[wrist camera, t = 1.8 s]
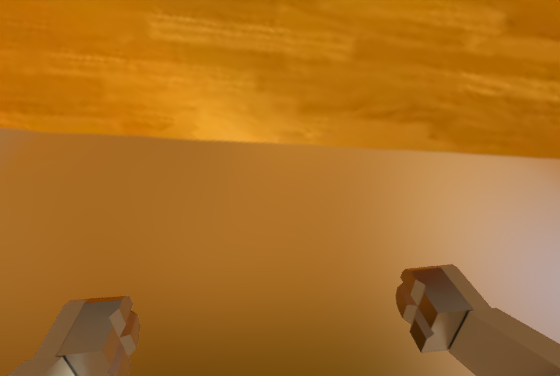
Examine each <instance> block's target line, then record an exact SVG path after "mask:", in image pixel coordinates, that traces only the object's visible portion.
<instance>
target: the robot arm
mask: <svg viewBox="0 0 560 376" xmlns="http://www.w3.org/2000/svg"><path fill="white" fill-rule="evenodd" d="M401 279H402V281H403V283H402V284H401V285H400V286H399V287H398V288H397V292H396V303H397V306H398V310H399V312H400V314H401V316H402V318H403V319H405V320H406V321H407V322H409V323H410V324H411V327H410V333H411V335H412V337H413V339H414V340H415V342H416V344H417V346H418V348H419V350H420V352H421V353H425V352H435V351H445V350H446V351H447V350H449V353H450V354H452V355H453V356H454V357H455V358H456V359H457V360H459V361H460V362H461V363H462V364H463V365H464V366H465V367H467V368H468V369H469V370H470V371H471V372H472V373H474V374H475V375H476V376H560V344H559V343H557V342H555V341H553V340H552V339H550V338H548V337H546V336H545V335H543V334H541V333H539V332H538V331H536V330H534V329H532V328H531V327H529V326H527V325H525V324H524V323H522V322H520V321H518V320H517V319H515V318H513V317H511V316H510V315H508V314H506V313H504V312H503V311H501V310H499V309H497V308H491V307H490V306H489V305H488V303H487V302H486V301H485V300H484V299H483V298H482V296H481V295H480V294H479V293H478V292H477V290H476V289H475V288H474V287H473V286H472V285H471V283H470V282H469V281H468V280H467V279H466V277H465V276H464V275H463V274H462V273H461V272H460V270H459V269H458V268H457V267H456V266H454V265H452V264H451V265H441V266H428V267H419V268H410V269H405V270H404V271H403V272H402V274H401ZM132 305H133V303H132V301H131V298H130V297H129V296H120V297H105V298H90V299H79V300H70V301H69V302H67V303H66V304H65V305H64V306H63V308H62V310H61V311H60V313H59V315H58V317H57V318H56V320H55V322H54V323H53V325H52V327H51V329H50V330H49V332H48V334H47V335H46V337H45V339H44V341H43V342H42V344H41V346H40V347H39V349H38V351H37V353H36V354H35V356H34V358H33V360H27V361H25V362H24V363H22V364H21V365H20V366H19V367H17V368H16V369H15V370H14V371H13V372H11V373H10V374H9V375H8V376H128V374H129V370H130V367H131V362H130V360H129V358H128V356H129V355H130V354H131V353H132V352H133V351H134V350H135V349H136V347H137V343H138V339H139V332H140V324H139V318H138V315H137V314H136V313H135V312H133V311H131V308H132Z"/></svg>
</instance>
